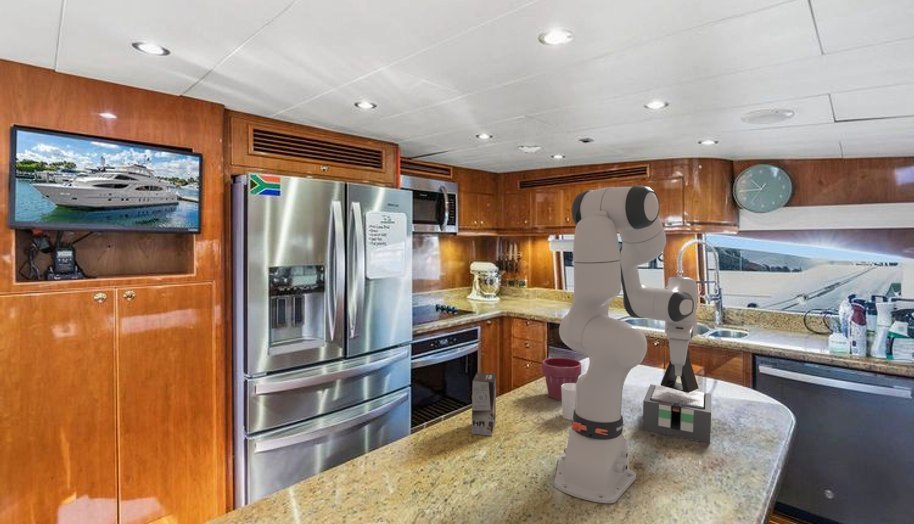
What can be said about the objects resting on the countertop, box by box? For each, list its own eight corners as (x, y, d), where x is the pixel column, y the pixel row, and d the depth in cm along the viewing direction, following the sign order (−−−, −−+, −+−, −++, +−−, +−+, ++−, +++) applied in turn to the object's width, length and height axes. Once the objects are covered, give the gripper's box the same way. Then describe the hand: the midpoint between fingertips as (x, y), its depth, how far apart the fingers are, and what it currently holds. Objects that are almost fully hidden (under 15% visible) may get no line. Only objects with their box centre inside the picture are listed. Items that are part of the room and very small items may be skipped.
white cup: (586, 422, 142) (587, 391, 142) (560, 420, 144) (561, 389, 143) (584, 413, 150) (585, 383, 150) (560, 411, 152) (560, 382, 151)
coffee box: (492, 436, 132) (493, 382, 131) (471, 434, 134) (471, 380, 133) (496, 423, 141) (497, 373, 140) (475, 421, 143) (476, 371, 142)
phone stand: (698, 389, 139) (699, 350, 138) (688, 393, 135) (690, 353, 134) (670, 381, 146) (671, 345, 145) (660, 385, 142) (661, 347, 142)
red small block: (678, 411, 132) (678, 409, 132) (672, 410, 132) (672, 408, 132) (679, 409, 133) (679, 407, 133) (673, 408, 134) (673, 406, 134)
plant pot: (543, 388, 175) (544, 355, 174) (580, 391, 171) (581, 358, 171) (539, 400, 161) (540, 365, 161) (580, 405, 158) (581, 369, 157)
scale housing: (710, 444, 128) (711, 413, 128) (642, 430, 137) (643, 401, 137) (710, 421, 144) (711, 393, 144) (649, 410, 153) (650, 384, 153)
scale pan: (703, 414, 128) (703, 410, 128) (650, 404, 135) (650, 400, 135) (704, 396, 143) (704, 392, 143) (656, 388, 150) (656, 384, 150)
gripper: (671, 321, 150) (670, 362, 151) (666, 333, 132) (665, 379, 133) (693, 323, 147) (691, 365, 148) (690, 335, 129) (689, 383, 130)
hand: (679, 372), depth 140 cm, fingers closed on phone stand, 6 cm apart
